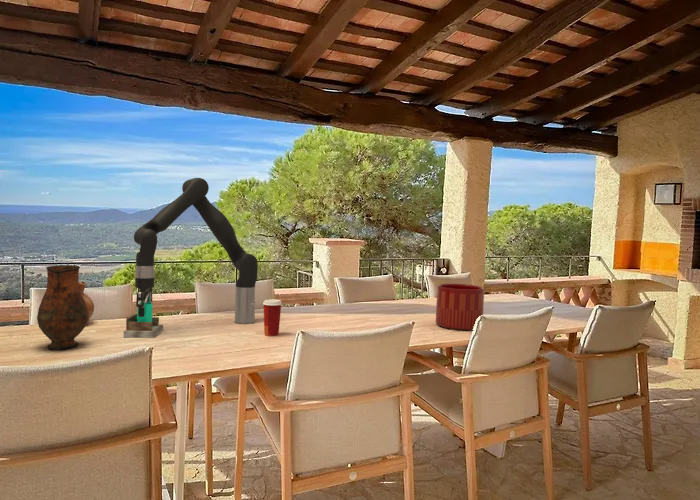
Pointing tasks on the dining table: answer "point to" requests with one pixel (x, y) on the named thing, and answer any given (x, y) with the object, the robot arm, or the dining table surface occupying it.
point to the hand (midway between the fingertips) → (144, 314)
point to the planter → (459, 305)
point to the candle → (146, 313)
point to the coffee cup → (272, 317)
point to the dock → (142, 328)
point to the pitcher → (62, 308)
